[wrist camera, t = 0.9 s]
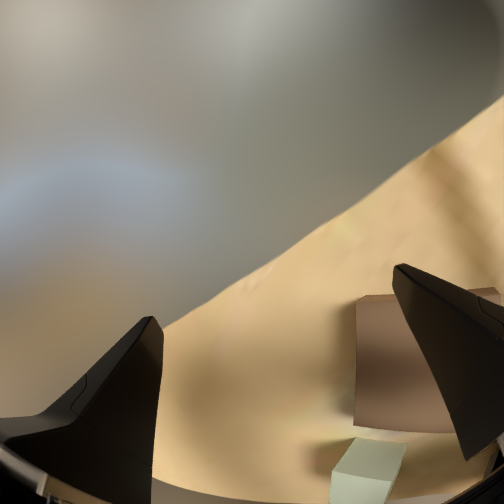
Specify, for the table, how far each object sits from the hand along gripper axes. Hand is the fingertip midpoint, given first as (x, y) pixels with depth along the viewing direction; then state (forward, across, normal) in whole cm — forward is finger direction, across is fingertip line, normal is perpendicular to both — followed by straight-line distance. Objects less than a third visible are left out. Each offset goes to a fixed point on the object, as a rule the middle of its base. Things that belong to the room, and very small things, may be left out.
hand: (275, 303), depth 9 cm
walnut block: (+2, -10, +11) cm, 15 cm away
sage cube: (-2, -6, +21) cm, 22 cm away
